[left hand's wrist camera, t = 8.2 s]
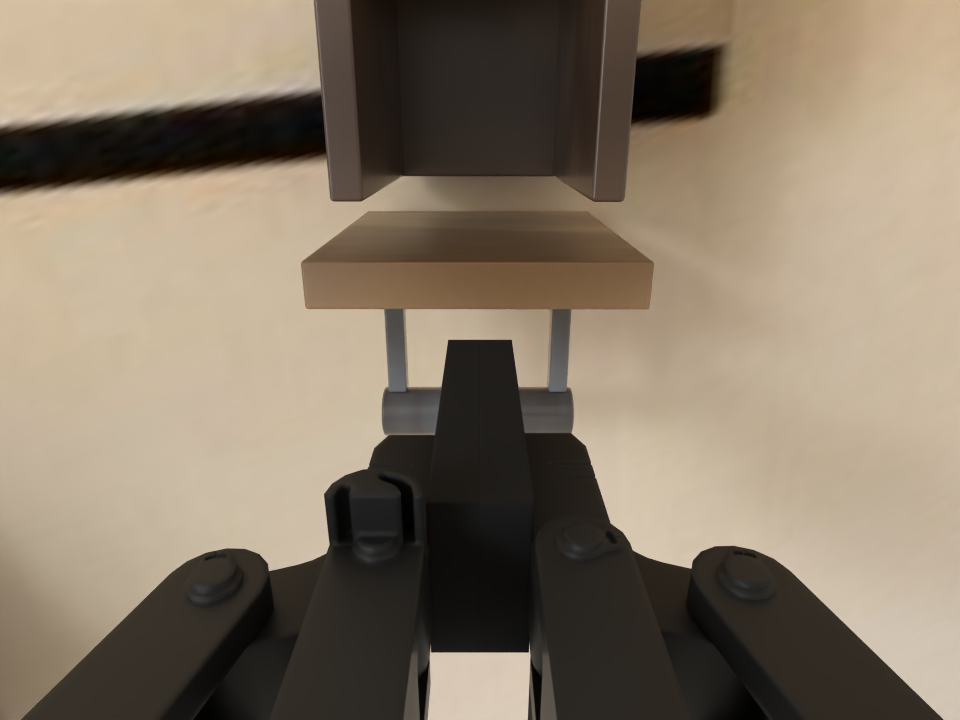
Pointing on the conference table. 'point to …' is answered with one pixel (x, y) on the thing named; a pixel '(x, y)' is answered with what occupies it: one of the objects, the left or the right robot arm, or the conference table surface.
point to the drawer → (477, 171)
